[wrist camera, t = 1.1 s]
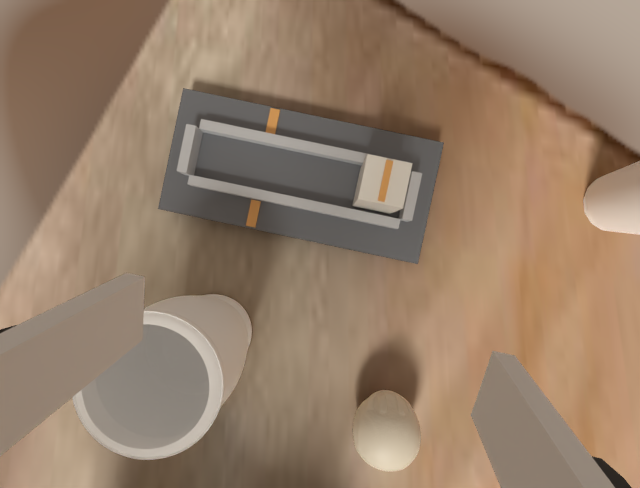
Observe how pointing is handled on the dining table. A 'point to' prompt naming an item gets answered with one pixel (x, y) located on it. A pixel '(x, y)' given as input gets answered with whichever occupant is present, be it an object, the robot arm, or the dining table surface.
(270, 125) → the marker
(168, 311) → the jar
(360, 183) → the block
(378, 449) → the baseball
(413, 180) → the slider track
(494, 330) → the dining table surface
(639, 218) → the foam cup
